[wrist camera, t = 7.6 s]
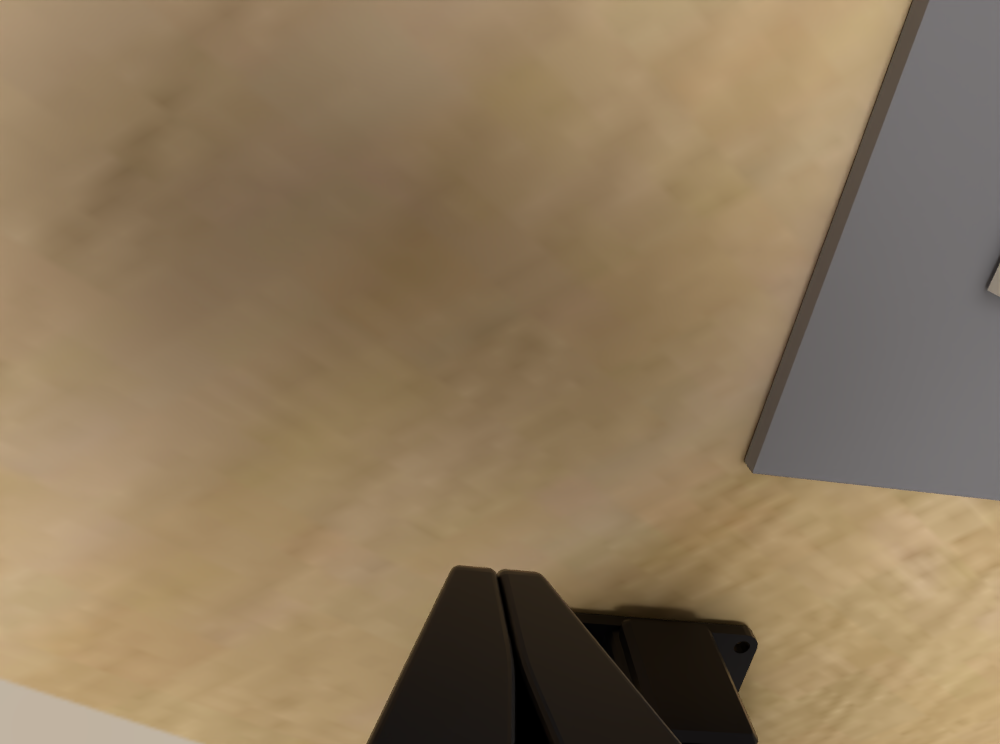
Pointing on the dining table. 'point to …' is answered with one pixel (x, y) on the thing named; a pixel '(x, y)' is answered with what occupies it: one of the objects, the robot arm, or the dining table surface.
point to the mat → (906, 284)
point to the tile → (995, 283)
